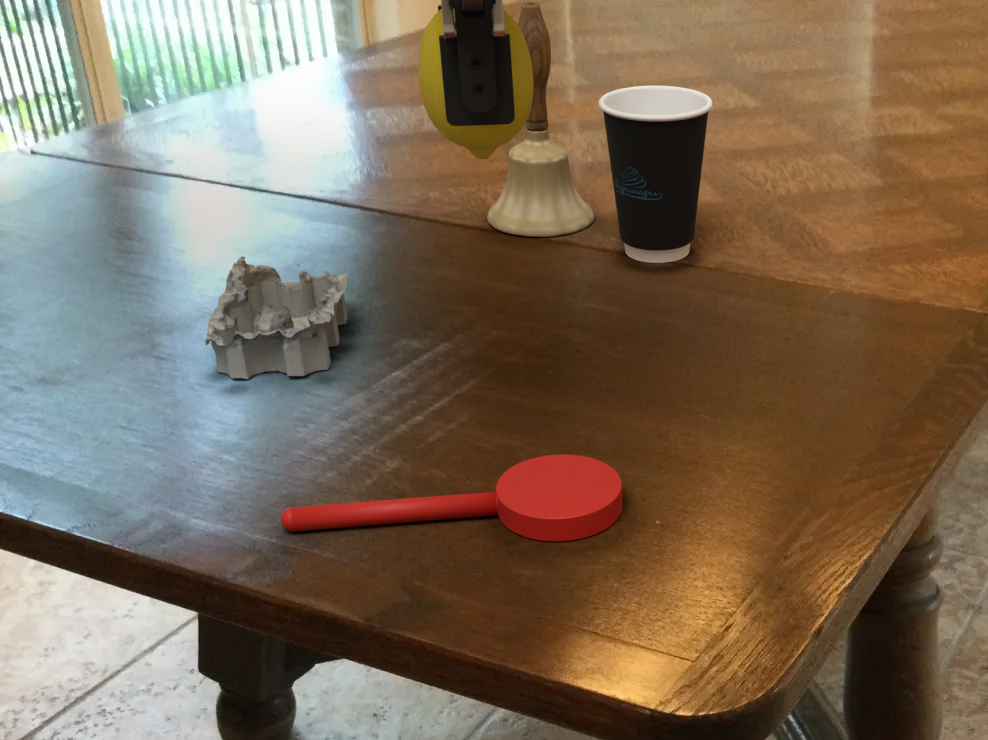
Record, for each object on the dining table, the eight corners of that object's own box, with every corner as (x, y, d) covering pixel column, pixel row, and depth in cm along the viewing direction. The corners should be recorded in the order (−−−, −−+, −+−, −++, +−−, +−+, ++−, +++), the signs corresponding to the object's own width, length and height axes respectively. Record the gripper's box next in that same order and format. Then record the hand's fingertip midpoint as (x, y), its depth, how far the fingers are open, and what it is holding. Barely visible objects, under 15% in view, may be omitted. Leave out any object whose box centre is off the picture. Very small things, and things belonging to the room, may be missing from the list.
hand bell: (615, 214, 106) (610, 0, 97) (548, 245, 100) (536, 21, 91) (534, 194, 110) (521, -14, 101) (465, 223, 104) (445, 5, 95)
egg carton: (248, 311, 89) (237, 252, 87) (362, 311, 90) (354, 253, 87) (199, 382, 80) (186, 318, 78) (326, 382, 81) (316, 319, 78)
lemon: (522, 138, 71) (511, -23, 67) (550, 170, 67) (541, -1, 62) (417, 148, 69) (399, -17, 65) (439, 182, 65) (422, 7, 61)
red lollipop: (276, 566, 64) (272, 541, 64) (288, 497, 70) (284, 474, 69) (630, 536, 67) (629, 512, 66) (615, 472, 72) (614, 449, 72)
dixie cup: (603, 272, 96) (598, 116, 90) (603, 232, 103) (598, 85, 97) (714, 270, 97) (716, 115, 90) (707, 231, 103) (708, 84, 97)
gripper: (550, -327, 50) (570, 155, 60) (522, -331, 64) (543, 60, 74) (342, -332, 49) (398, 161, 59) (361, -335, 63) (403, 63, 73)
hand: (478, 101), depth 66 cm, fingers closed on lemon, 5 cm apart
